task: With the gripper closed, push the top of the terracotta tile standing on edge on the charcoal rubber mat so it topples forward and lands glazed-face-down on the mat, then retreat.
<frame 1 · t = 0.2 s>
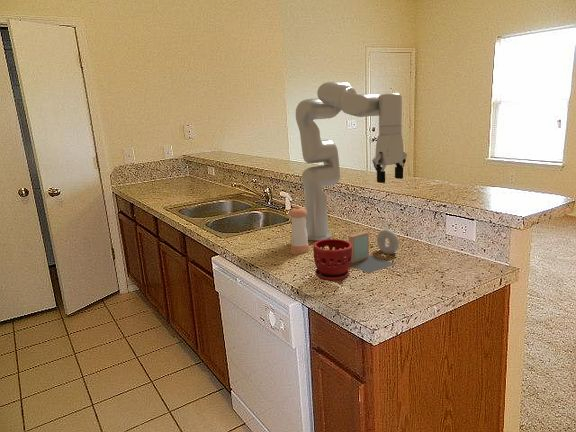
hand: (390, 180, 154), 31 cm above the worktop, tool pointing down, fingers open, 9 cm apart
pepper shaker: (300, 252, 179), on the worktop
donut: (387, 254, 171), on the worktop
plant pot: (333, 277, 152), on the worktop
tile: (359, 259, 164), point 1 cm above the worktop, touching mat
mat: (366, 264, 161), on the worktop
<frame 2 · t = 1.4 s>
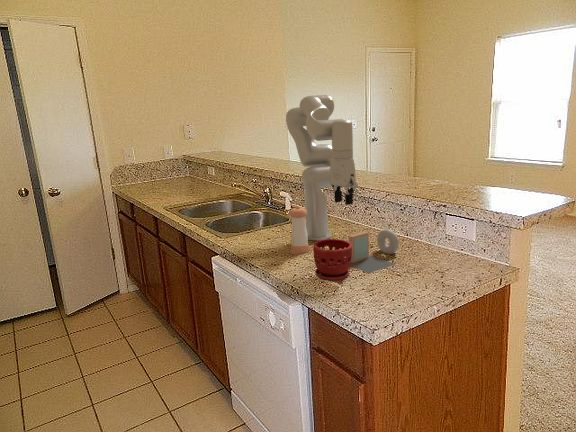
hand: (343, 202, 165), 21 cm above the worktop, tool pointing down, fingers open, 5 cm apart
nothing on the worktop moved.
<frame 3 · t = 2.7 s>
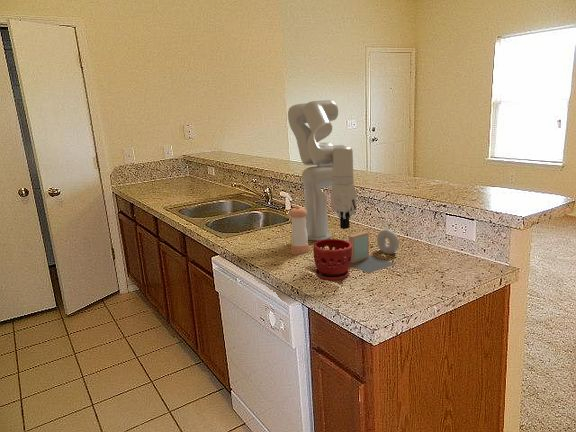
hand: (344, 228, 167), 12 cm above the worktop, tool pointing down, fingers closed
nothing on the worktop moved.
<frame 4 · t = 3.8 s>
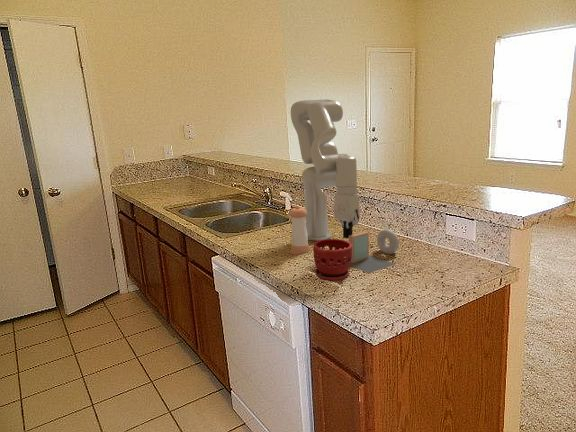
hand: (347, 237, 167), 8 cm above the worktop, tool pointing down, fingers closed
nothing on the worktop moved.
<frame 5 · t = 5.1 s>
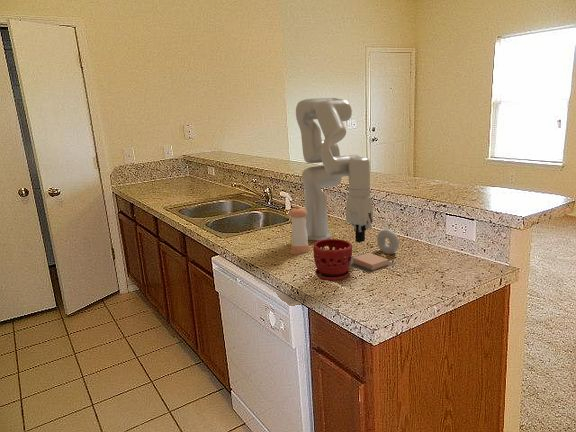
hand: (360, 241, 162), 8 cm above the worktop, tool pointing down, fingers closed
tile: (360, 257, 163), point 2 cm above the worktop, tilted 90°, touching mat
everything else where it was.
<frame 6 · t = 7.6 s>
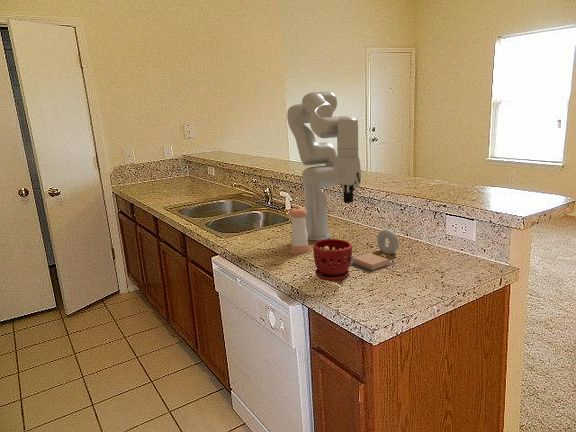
hand: (348, 202, 163), 22 cm above the worktop, tool pointing down, fingers closed
nothing on the worktop moved.
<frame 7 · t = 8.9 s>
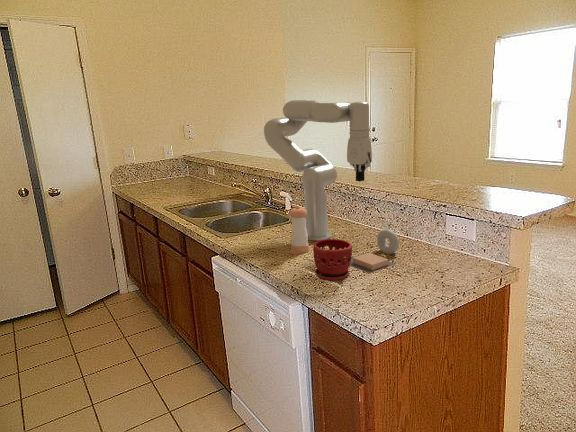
hand: (360, 180, 176), 27 cm above the worktop, tool pointing down, fingers closed
nothing on the worktop moved.
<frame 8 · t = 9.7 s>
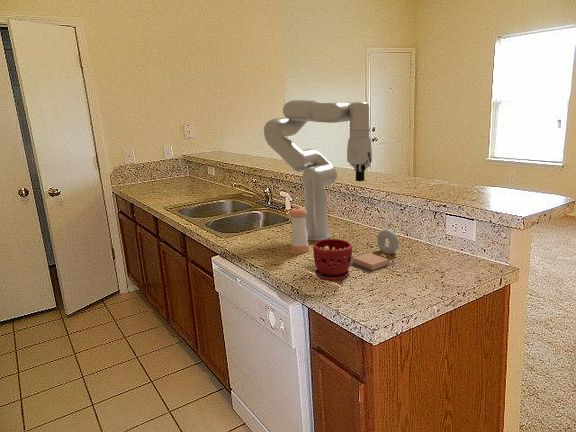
hand: (360, 180, 176), 27 cm above the worktop, tool pointing down, fingers closed
nothing on the worktop moved.
at the end: tile tilted 90°; tile inside the target area on the mat (3.4 cm from its centre), point 1.9 cm above the mat's base; tile point 1.9 cm above the worktop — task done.
